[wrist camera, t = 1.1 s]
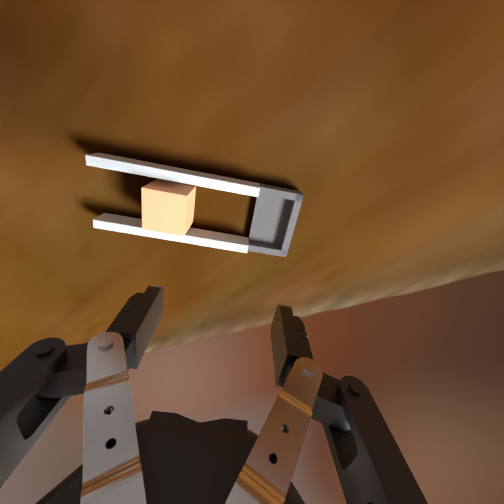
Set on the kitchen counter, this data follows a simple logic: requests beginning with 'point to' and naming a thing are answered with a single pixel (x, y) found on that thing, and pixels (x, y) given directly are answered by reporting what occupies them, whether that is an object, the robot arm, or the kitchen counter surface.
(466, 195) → the kitchen counter surface
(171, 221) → the block
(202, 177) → the channel
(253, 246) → the tray
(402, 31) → the kitchen counter surface
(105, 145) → the kitchen counter surface
